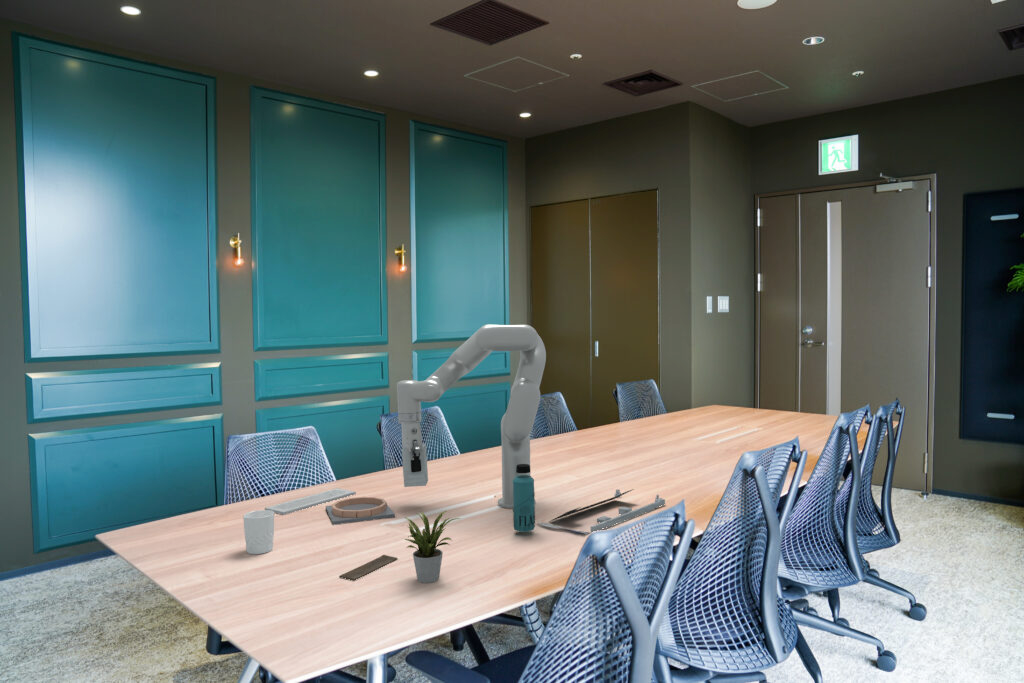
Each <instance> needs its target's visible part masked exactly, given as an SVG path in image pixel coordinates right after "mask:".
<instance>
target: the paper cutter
mask: <svg viewBox="0 0 1024 683" xmlns="http://www.w3.org/2000/svg"><path fill="white" fill-rule="evenodd" d="M633 490H635V489H630V490H627V491H625V492H623V493H622V492H621V490H620V489H618V488H617V489H616V490H615V492H614V496H613V497H610V498H607V499H604V500H602V501H599V502H596V503H593V504H589V505H586V506H584V507H582V508H581V506H580V507H578V508H574V509H572V510H569V511H567V512H565V513H563V514H561V515H559V516H557V517H555V518H553V519H551V520H549V521H548V522H552V521H555V520H558V519H561V518H564V517H567V516H570V515H572V514H576V513H579V512H581V511H584V510H587V509H590V508H592V507H595V506H598V505H600V504H604V503H608V502H610V501H613V500H615V499H619V498H618V497H620V496H621V497H622V496H623V495H626V494H628V493H629V492H632V491H633ZM621 497H620V498H621ZM664 504H665V505H666V499H663V498H660V495H659V494H656V497H655V499H654V502H652V503H649V504H646V505H644V506H641V507H639V508H636V509H632V508H631V507H627V506H621V507H619V508H618V516H614V517H611V516H606V515H603V516H600V517H597V518H596V524H593V525H591V526H590V532H587V531H584V530H579V531H577V530H576V532H577V533H581V534H586V535H589V534H591V532H593V531H597V530H601V531H603V530H605V529H607V528H606V527H609V528H611V527H613V526H612V525H614V524H616V523H619V522H622V523H624V522H627V521H628V520H627V519H629V520H631V519H630V518H632V519H634V518H636V517H635V516H637V515H639V516H641V515H640V514H642V513H644V514H646V513H645V512H647V513H650V512H652V511H654V510H653V509H655V508H657V507H659V506H661V505H664ZM657 509H658V508H657ZM651 510H652V511H651ZM655 510H656V509H655ZM619 514H621V515H619ZM642 515H643V514H642ZM633 517H634V518H633ZM637 517H638V516H637ZM624 520H626V521H624ZM597 522H600V523H597ZM537 523H538V524H539V525H542V526H545V527H548V528H555V529H563V527H562V526H558V525H554V524H549V523H546V522H542V521H537ZM619 524H620V523H619ZM616 525H617V524H616ZM610 526H611V527H610ZM614 526H615V525H614ZM602 528H604V529H602ZM564 529H565V530H566V529H567V528H565V527H564ZM568 530H569V531H570V530H571V529H569V528H568ZM572 532H575V530H573V529H572Z"/></svg>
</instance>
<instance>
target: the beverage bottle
mask: <svg viewBox="0 0 1024 683" xmlns="http://www.w3.org/2000/svg"><path fill="white" fill-rule="evenodd" d="M516 472H517V473H529V472H530V473H531V464H530V465H529V464H518V465H517V466H516ZM535 495H536V492H535V479H534V477H532V476H531V475H530V476H529V475H518V476H516V477H515V478H514V479H513V508H512V512H513V513H512V514H513V516H512V520H513V521H512V522H513V523H512V524H513V525H512V526H513V530H514V531H516V532H521V533H522V532H523V533H527V532H528V533H529V532H531V531H534V530H535V528H536V507H535V506H536V505H534V502H535V500H536V498H535V497H536V496H535Z"/></svg>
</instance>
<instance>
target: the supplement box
mask: <svg viewBox="0 0 1024 683" xmlns="http://www.w3.org/2000/svg"><path fill="white" fill-rule="evenodd" d="M422 444H423V450H422V451H420V452H419V453H420V457H421V471H420V472H411V460H412V459H411V454H410V453H408V450H407V449H406V448H405V447H404V448H403V447H402V449H401V456H402V457H401V459H402V476H403V488H409V487H425V486H427V484H428V482H429V473H428V471H429V470H428V457H427V456H428V455H427V444H426V443H422ZM413 450H415V448H414V449H412V451H413ZM413 456H414V454H413Z"/></svg>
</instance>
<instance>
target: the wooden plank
mask: <svg viewBox="0 0 1024 683" xmlns="http://www.w3.org/2000/svg"><path fill="white" fill-rule="evenodd" d="M397 560H398V557H395V556H391V555H386V554H383V555H381V556H379V557H377V558H375V559H373V560H370V561H368V562H366V563H364V564H361V565H360V566H358V567H356V568H353V569H351V570H349V571H347V572H344V573H342V574H340V575H339V576H338V577H339V578H340V577H343V578H346V579H345V580H347V579H350V580H349V581H351V580H356V579H358V578H360V577H362V576H364V575H366V576H368V575H370V574H371V572H372V573H373V571H374V572H376V571H377V569H378V570H379V568H380V569H382V568H384V567H385V565H386V566H388V565H389V563H390V564H391V563H394V562H396V561H397ZM387 564H388V565H387ZM383 566H384V567H383ZM381 567H382V568H381ZM375 570H376V571H375ZM369 573H370V574H369ZM367 574H368V575H367ZM364 577H365V576H364ZM343 578H342V579H343ZM362 578H363V577H362ZM360 579H361V578H360ZM358 580H359V579H358ZM356 581H357V580H356Z"/></svg>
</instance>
